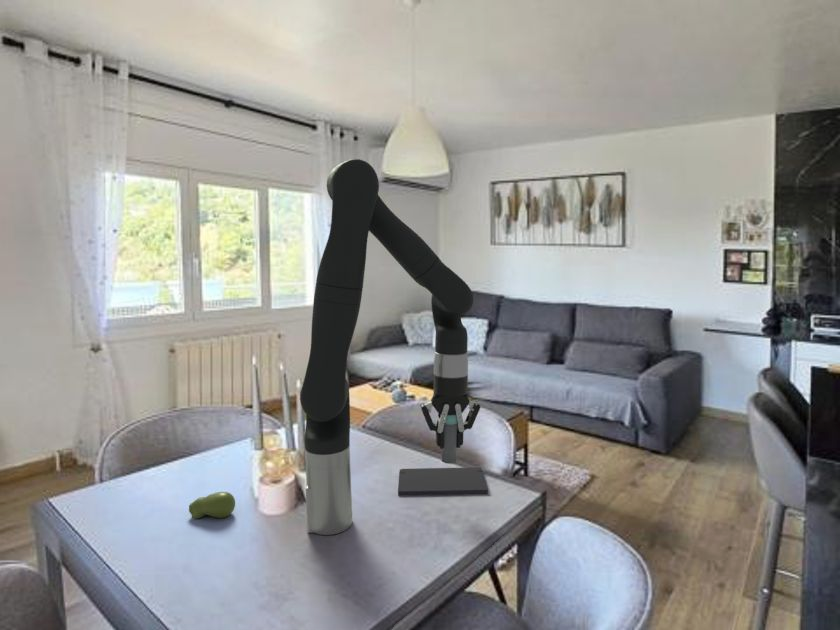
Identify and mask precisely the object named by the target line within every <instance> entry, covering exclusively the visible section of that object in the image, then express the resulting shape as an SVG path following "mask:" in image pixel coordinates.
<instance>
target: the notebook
mask: <svg viewBox="0 0 840 630" xmlns="http://www.w3.org/2000/svg"><path fill="white" fill-rule="evenodd" d="M488 489H489V488H488V485H487V482H486V479H485V476H484V472H483V469H482V467H473V466H472V467H433V468H432V467H429V468H428V467H426V468H423V467H422V468H421V467H420V468H400V469H399V472H398V487H397V496H400V497H401V496H448V495H450V496H451V495H456V496H457V495H489V494H488V493H489V490H488Z"/></svg>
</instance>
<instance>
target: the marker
mask: <svg viewBox="0 0 840 630" xmlns="http://www.w3.org/2000/svg"><path fill="white" fill-rule="evenodd" d="M457 452H458V448H457V416H456V415H447V417H446V422H445V424H444V428H443V449H441V462H442V463H444V464H447V465H448V464H449V465H450V464H456V463H457V459H458V453H457Z"/></svg>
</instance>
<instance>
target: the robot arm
mask: <svg viewBox="0 0 840 630" xmlns="http://www.w3.org/2000/svg"><path fill="white" fill-rule="evenodd" d="M379 190H380V182H379V176H378V174H377V172H376V170H375V169H374V167H373V166H372V165H371V164H370V163H368V162H367V161H365V160H363V159H360V158H359V159H358V158H353V159H348V160H345V161H343V162H341V163H339V164H338V165H337V166H335V167H333V169H332V170H331V171H330V172H329V174H328V176H327V180H326V191H327V195H328V196H329V198H330V200H332V203H331V204H332V207H331V221H330V222H331V223H330V229H329V234H328V237H327V242H326V244H325V247H324V250H323V253H322V256H321V259H320V263H319V266H318V269H317V275H316V280H315V287H314V294H313V295H314V296H313V304H312V306H313V307H312V316H311V318H312V319H311V332H310V333H311V337H310V338H311V339H310V349H309V350H310V351H309V352H310V353H309V357H308V363H307V367H306V371H305V374H304V379H303V383H302V387H301V390H300V395H299V400H300V405H301V408H302V410H303V411H304V414H305V417H306V418H305V430H304V437H303V438H304V457H305V477H306V479H305V481H306V482H305V483H306V485H305V505H306V525H307V526H306V527H307V528H306V529H307V533H308V534H309V533H314V534H317V535H322V536H330V535H337V534H340V533H342V532H344V531H346V530H348V529H349V528H351V526H352V525H353V506H352V505H353V502H352V501H353V500H352V476H351V475H352V473H351V453H350V452H351V450H350V449H351V448H350V447H351V446H350V438H351V437H350V435H351V409H350V408H351V407H350V406H351V405H350V404H351V403H350V402H351V401H350V386H349V383H348V380H347V378H346V375H347V365H348V364H347V363H348V356H349V350H350V346H351V344H352V340H353V338H354V332H355V330H356V326H357V322H358V318H359V315H360V314H359V313H360V309H361V302H362V297H363V296H362V295H363V288H364V281H365V280H364V279H365V270H366V269H365V268H366V260H367V249H368V247H367V246H368V237H369V233H370V234H372V236H374V238H375V239H377V241H378V242H380V244H381V245H382V246H383V247H384V248H385V250H386V251H387V252H388V253H389V254H390V255H391V256H392V258H393V259H394V260H395V261H396V262H397V263H398V264H399V266H401V268H402V269H403V270H404V271H405V272H406V273H407V274H408V275H409V277H411V278H412V280H413V281H414V282H415V283H417V284H418V285H419V286H420V287H423V288H425V289H427V291H428V292H430V294H431V300H430V301H431V306H430V307H431V314H432V319H433V325H434V329H435V339H434V342H435V343H434V349H435V350H434V354H435V355H434V359H433V368H432V370H433V395H432V397H431V400H430V401H428V402H426V403H424V402H422V403H420V405H419V406H420V410H421V412H422V414H423V417H424V419H425V422H426V424H427V426H428V429H429V430H430V431H433V432H435V444H436V446H437V447H438V448H439V450H442V449H443V428H444V424H445V422H446V417H447V415H456V416H457V449H460V448H461V446H463V444H464V432H465V431H466V430H471V429H472V428H473V426H474V424H475V421H476V418H477V416H478V414H479V413H480V410H481V405H480V404H479V402H478V401H475V400H474V401H473V400H470V398H469V396H468V384H469V378H468V377H469V357H468V339H469V337H468V330H467V328H466V327H465V326H464V325H463V322H462V316H463V315H465V314H467V313H468V312H469V311H470V310H471V309H472V308H473V305H474V301H475V300H474V294H473V291H472V290H471V288H470V286H469V284H467V283H466V282H465V281H464V280H463V278H461V277H460V276H459V275H458V274H457V273H456V272H455V271H453V270H452V269H451V268H450V267H448V266H447V265H446V264H445V263H444V262H443V261H442V260H441V259H440V257H439V256H438V255H437V253H435V252H434V251H433V249H432V248H431V247H430V246H429V244H428V243H427V242H426V241H425V240H424V239H423V238H422V237H421V236H420V235H418V233H416V232H415V231H414V230H413V229H412V228H411V227H409V226H408V225H407V224H406V223H405V222H403V221H402V220H401V219H400V218H399V217H398V216H397V215H396V214H395V213H394V212H393V211H391V209H390V208H389V207H388V206H387V204H386V203H385V202H384V201H383V199H382V198H381V197H380V195H379ZM433 407H434V409H435V411H436V412H437V414H436V415H437V416H436V422H435V423H434V422H433V420H432V416H431V415H430V413H432V409H433ZM466 408H467V409H468V410H469V411H468V413H467V416H466V418H465V420H464V419H463V413H464V411H465V410H466Z"/></svg>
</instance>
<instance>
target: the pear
mask: <svg viewBox="0 0 840 630" xmlns="http://www.w3.org/2000/svg"><path fill="white" fill-rule="evenodd" d="M235 507H236V500H235V497H234V496H233V494H232V493H230V492H228V491H219V492H214V493H211V494H208V495H206V496H202V497H198V498H197V499H195V500H194V501H192V502H191V503H189V505H188V512H189V513H190V515H191V519H195V520H197V519H200V518H202V517H204V516H207V515H208V516H211V517H214V518H219V519H221V518H222V519H223V518H226V517H229V516H230V515H231V514H232V513H233V512H234V510H235Z"/></svg>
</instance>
